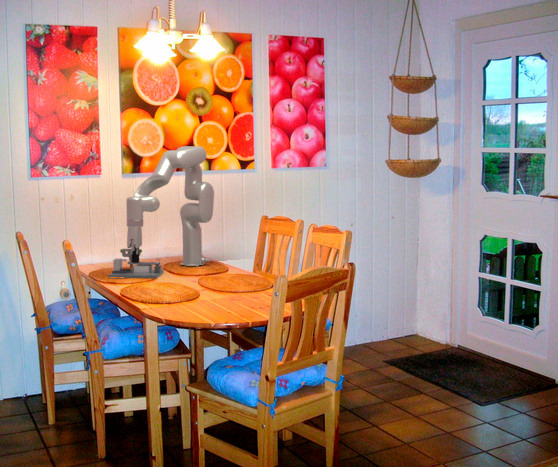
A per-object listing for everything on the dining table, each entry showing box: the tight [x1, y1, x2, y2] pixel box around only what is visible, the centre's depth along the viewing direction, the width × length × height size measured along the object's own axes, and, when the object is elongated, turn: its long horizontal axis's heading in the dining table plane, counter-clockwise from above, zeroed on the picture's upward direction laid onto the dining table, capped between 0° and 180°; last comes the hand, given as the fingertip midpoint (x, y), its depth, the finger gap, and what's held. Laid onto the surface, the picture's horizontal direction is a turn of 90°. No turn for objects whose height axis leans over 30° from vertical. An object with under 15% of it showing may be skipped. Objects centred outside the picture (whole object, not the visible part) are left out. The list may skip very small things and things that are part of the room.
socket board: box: [108, 264, 165, 280], centre depth 322 cm, size 22×16×4 cm
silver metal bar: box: [127, 261, 161, 266], centre depth 322 cm, size 15×3×2 cm, turn 87°
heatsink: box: [133, 264, 153, 274], centre depth 322 cm, size 7×7×3 cm
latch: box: [112, 258, 128, 271], centre depth 322 cm, size 5×4×6 cm
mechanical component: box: [119, 248, 143, 269], centre depth 339 cm, size 3×10×10 cm, turn 89°
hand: (135, 262), depth 321 cm, fingers closed
